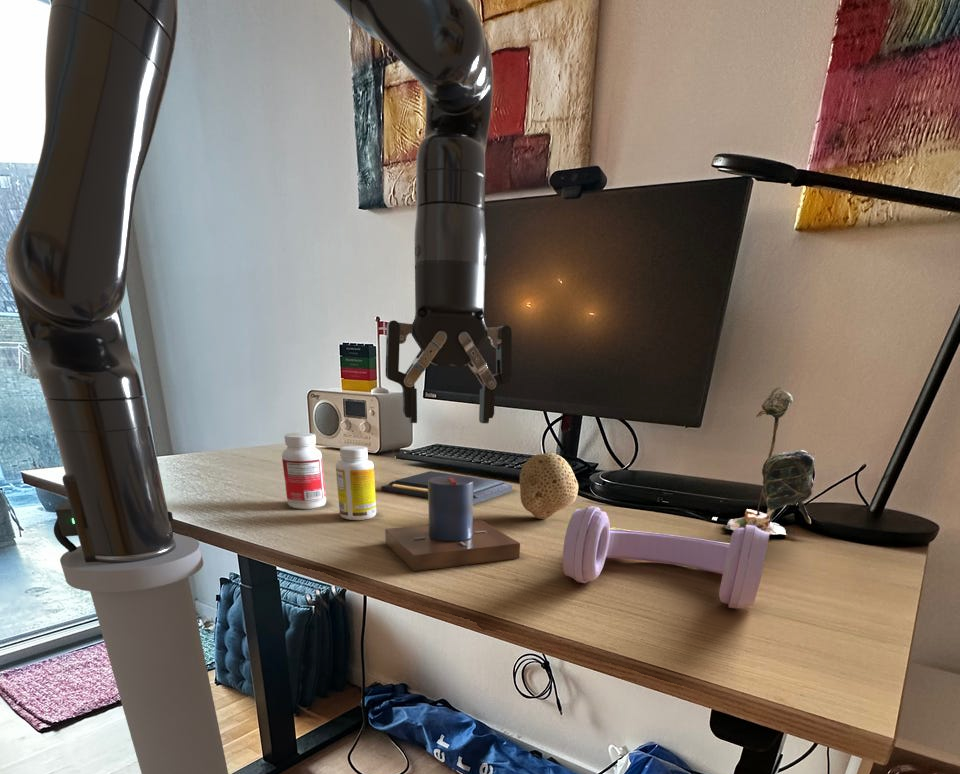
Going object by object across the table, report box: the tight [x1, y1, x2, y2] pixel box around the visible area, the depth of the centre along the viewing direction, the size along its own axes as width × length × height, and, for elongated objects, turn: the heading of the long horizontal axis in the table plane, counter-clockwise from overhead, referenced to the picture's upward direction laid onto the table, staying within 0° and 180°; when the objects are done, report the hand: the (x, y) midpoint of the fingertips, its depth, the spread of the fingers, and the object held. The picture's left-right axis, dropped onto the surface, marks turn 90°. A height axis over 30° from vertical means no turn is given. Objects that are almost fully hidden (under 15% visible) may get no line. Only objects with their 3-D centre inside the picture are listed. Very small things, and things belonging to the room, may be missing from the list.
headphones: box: [562, 506, 770, 609], centre depth 69 cm, size 20×10×20 cm
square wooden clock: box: [384, 519, 521, 572], centre depth 78 cm, size 14×12×2 cm
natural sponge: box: [519, 452, 579, 520], centre depth 92 cm, size 9×9×10 cm
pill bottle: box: [281, 432, 327, 510], centre depth 96 cm, size 6×6×11 cm
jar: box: [427, 476, 474, 542], centre depth 76 cm, size 6×6×7 cm
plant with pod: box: [724, 386, 815, 536], centre depth 85 cm, size 8×11×20 cm
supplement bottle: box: [335, 445, 377, 521], centre depth 90 cm, size 6×6×10 cm
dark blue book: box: [380, 470, 513, 506], centre depth 110 cm, size 20×2×15 cm
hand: (448, 422), depth 71 cm, fingers open, 8 cm apart
